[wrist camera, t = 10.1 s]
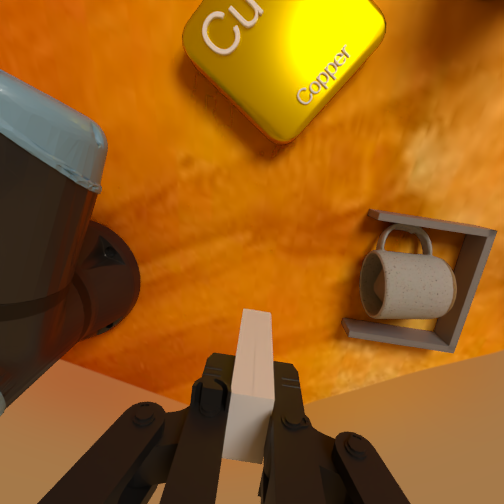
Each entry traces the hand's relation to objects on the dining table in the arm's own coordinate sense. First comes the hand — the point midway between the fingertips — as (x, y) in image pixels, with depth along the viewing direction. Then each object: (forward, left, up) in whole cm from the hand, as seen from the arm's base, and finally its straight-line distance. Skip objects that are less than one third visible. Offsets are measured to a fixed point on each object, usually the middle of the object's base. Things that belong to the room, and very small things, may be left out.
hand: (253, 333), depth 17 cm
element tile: (-1, +21, -23) cm, 31 cm away
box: (+19, -2, -22) cm, 29 cm away
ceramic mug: (+16, 0, -23) cm, 28 cm away
